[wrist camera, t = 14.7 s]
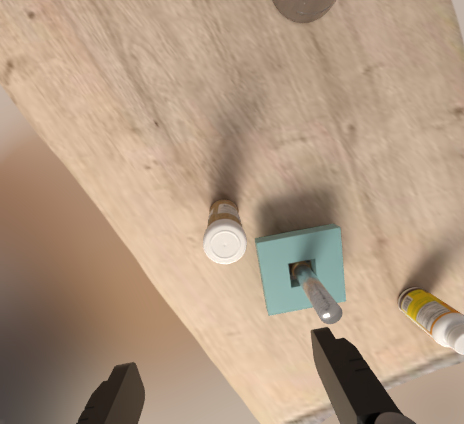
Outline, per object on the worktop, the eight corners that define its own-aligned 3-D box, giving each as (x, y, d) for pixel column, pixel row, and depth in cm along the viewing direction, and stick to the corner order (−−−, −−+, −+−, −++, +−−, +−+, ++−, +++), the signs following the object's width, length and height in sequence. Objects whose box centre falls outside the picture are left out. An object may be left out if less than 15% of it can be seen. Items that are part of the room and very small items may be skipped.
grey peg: (273, 246, 39) (301, 295, 25) (309, 239, 39) (356, 284, 25) (278, 278, 40) (307, 341, 27) (312, 272, 40) (359, 331, 27)
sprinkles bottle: (203, 212, 37) (193, 244, 24) (225, 192, 36) (226, 214, 23) (223, 232, 38) (223, 274, 25) (244, 213, 37) (256, 246, 24)
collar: (254, 238, 35) (256, 243, 33) (333, 223, 35) (340, 227, 33) (266, 307, 38) (268, 315, 36) (339, 293, 38) (345, 301, 36)
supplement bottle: (429, 305, 43) (492, 350, 33) (400, 317, 43) (454, 366, 33) (422, 280, 42) (485, 319, 32) (392, 293, 42) (445, 336, 32)
